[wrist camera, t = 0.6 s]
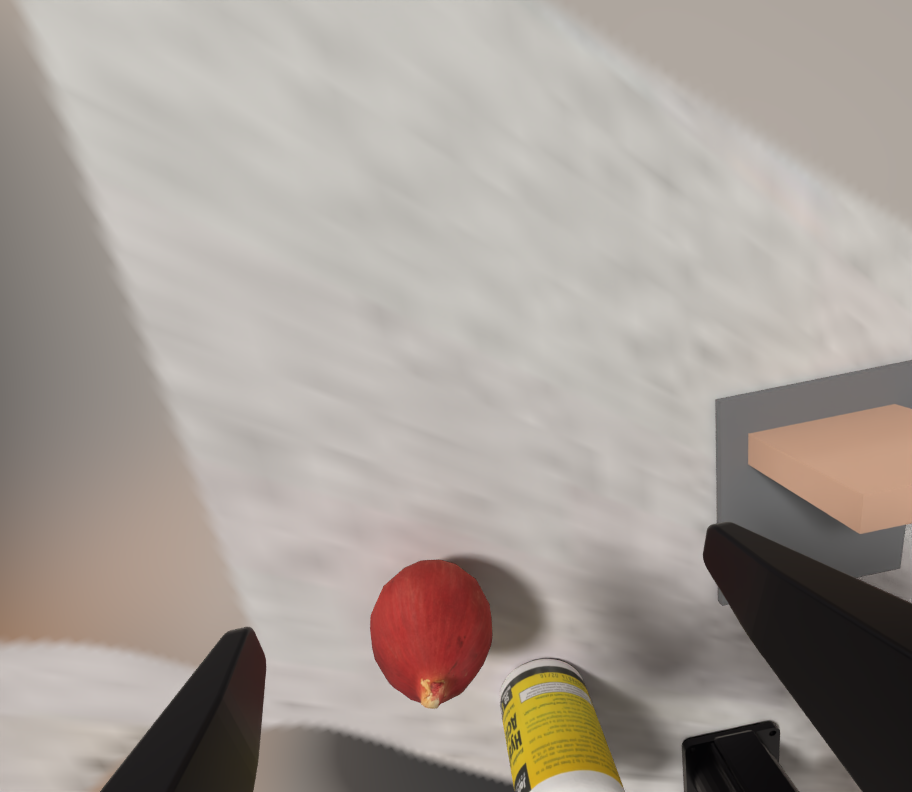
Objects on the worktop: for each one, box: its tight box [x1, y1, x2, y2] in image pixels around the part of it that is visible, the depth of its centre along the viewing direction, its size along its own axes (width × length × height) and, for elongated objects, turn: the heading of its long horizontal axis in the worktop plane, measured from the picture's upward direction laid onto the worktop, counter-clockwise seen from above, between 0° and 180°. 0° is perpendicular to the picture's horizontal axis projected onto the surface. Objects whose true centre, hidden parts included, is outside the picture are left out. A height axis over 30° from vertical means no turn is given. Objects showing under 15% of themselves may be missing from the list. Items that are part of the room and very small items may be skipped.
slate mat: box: [716, 360, 912, 606], centre depth 25 cm, size 13×11×1 cm
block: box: [748, 404, 912, 534], centre depth 21 cm, size 2×8×6 cm, turn 100°
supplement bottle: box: [500, 659, 625, 792], centre depth 24 cm, size 5×5×10 cm
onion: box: [370, 560, 492, 709], centre depth 22 cm, size 6×6×8 cm
